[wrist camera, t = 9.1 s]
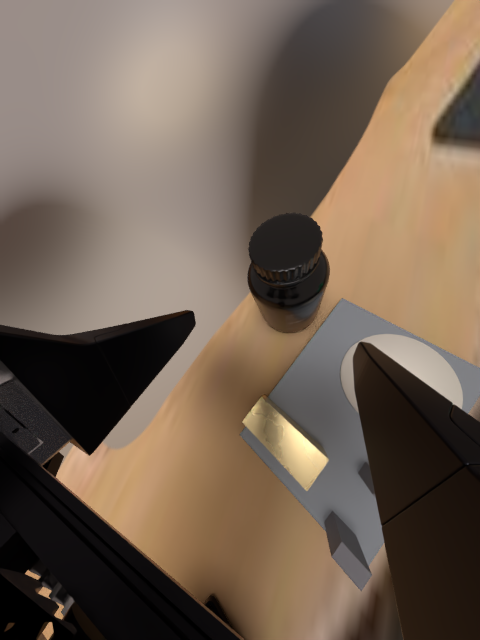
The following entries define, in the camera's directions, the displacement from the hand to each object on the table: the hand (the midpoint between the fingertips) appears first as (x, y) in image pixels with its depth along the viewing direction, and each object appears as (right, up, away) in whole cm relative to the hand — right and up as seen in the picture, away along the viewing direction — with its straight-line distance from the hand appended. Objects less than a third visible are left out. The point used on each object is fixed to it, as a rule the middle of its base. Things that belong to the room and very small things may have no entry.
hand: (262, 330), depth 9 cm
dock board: (+10, -8, +8) cm, 15 cm away
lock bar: (+3, -11, +8) cm, 14 cm away
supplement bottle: (+5, +2, +13) cm, 14 cm away
